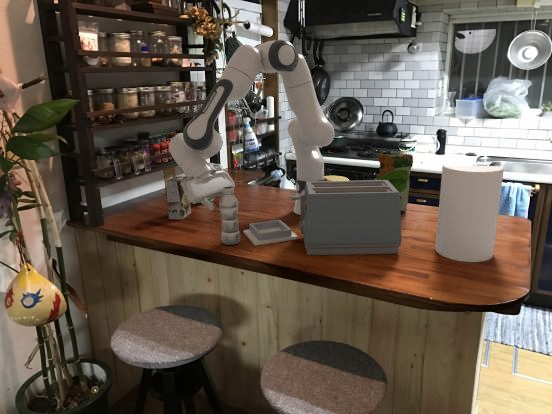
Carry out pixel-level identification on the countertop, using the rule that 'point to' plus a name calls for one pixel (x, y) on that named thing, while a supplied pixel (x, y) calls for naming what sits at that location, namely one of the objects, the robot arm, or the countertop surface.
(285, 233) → the bottle holder
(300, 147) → the robot arm
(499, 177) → the cylinder
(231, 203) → the plastic bottle
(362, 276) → the countertop surface
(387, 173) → the pouch
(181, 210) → the coffee box
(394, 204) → the toaster
